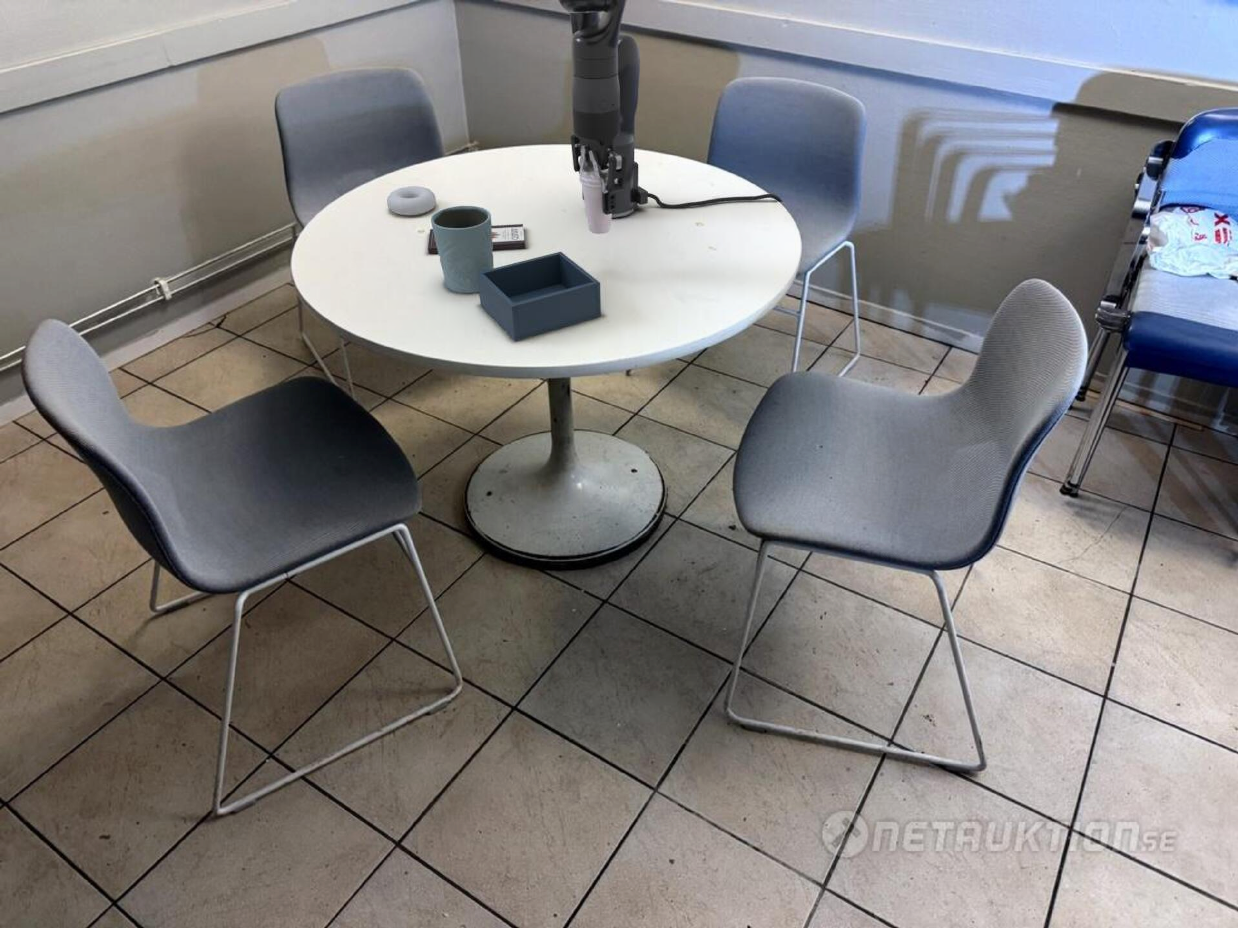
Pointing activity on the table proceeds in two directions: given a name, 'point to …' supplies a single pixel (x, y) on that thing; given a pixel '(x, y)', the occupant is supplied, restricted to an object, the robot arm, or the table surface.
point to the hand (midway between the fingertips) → (599, 206)
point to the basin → (539, 295)
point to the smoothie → (594, 202)
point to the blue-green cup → (463, 245)
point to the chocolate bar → (494, 238)
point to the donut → (411, 200)
